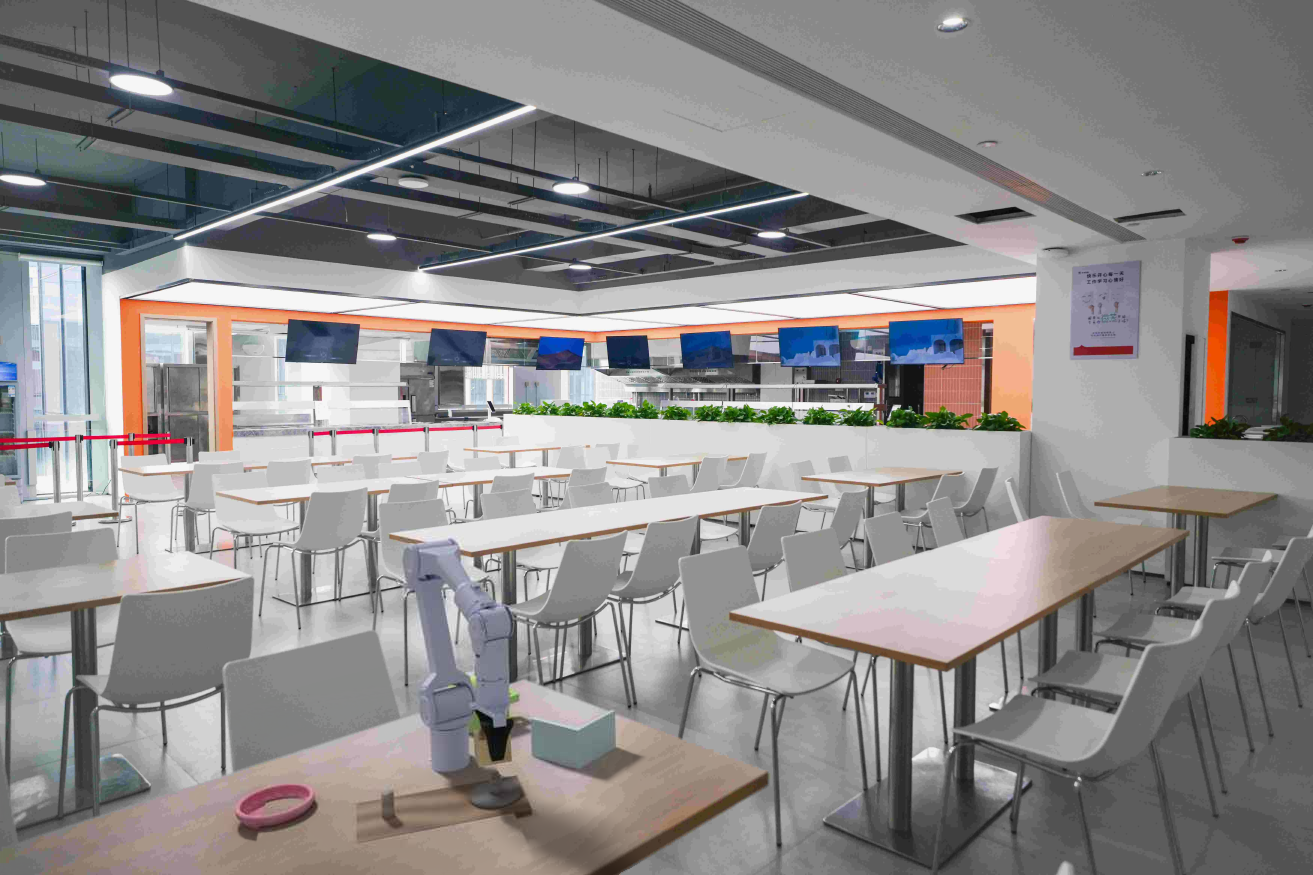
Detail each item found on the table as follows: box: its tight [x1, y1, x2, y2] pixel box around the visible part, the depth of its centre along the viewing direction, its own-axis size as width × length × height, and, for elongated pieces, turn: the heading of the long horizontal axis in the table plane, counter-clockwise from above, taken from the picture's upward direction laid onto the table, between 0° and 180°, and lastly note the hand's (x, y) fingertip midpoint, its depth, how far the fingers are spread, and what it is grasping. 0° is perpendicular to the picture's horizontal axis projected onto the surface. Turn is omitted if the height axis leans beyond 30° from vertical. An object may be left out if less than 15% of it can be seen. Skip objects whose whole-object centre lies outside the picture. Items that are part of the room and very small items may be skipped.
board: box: [356, 770, 533, 844], centre depth 139 cm, size 14×28×5 cm, turn 110°
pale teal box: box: [530, 709, 617, 770], centre depth 163 cm, size 12×12×8 cm
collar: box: [473, 728, 513, 768], centre depth 142 cm, size 6×6×4 cm
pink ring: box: [234, 782, 316, 831], centre depth 139 cm, size 12×12×3 cm
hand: (494, 752), depth 142 cm, fingers closed on collar, 6 cm apart
